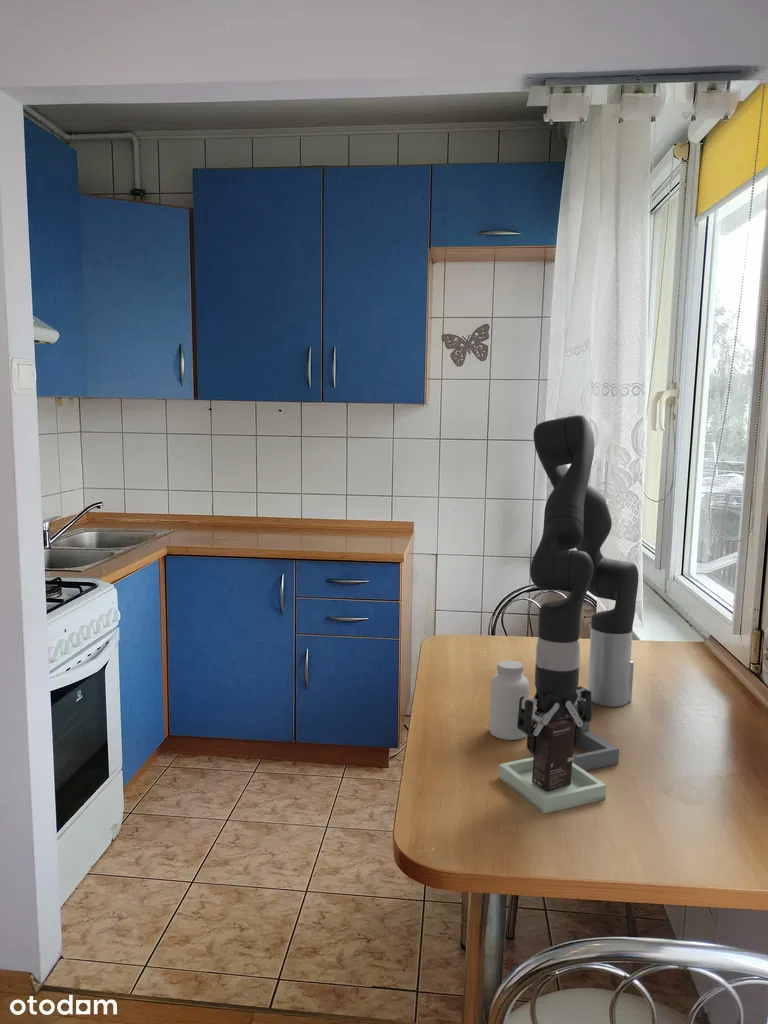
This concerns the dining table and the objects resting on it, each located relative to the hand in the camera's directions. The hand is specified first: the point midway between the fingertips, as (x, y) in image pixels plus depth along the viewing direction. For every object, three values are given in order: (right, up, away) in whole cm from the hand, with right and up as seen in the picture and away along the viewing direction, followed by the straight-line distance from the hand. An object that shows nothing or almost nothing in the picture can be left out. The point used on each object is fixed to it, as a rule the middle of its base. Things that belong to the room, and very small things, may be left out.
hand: (553, 749), depth 141 cm
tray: (0, -7, +1) cm, 7 cm away
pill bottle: (-4, -4, +24) cm, 25 cm away
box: (0, -7, +1) cm, 7 cm away
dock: (+8, -5, +15) cm, 18 cm away
